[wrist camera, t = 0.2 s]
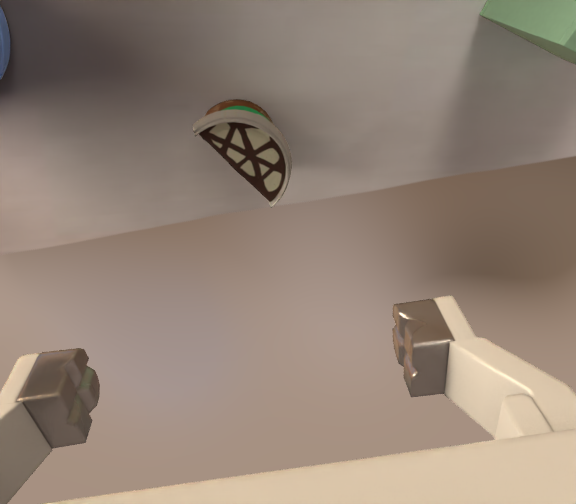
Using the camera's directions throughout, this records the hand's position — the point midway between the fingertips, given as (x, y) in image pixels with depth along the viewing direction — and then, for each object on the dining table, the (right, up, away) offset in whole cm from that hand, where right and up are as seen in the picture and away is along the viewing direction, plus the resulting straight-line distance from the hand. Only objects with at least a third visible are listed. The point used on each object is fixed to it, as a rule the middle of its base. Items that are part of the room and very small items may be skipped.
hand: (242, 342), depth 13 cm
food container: (-3, +18, +46) cm, 49 cm away
